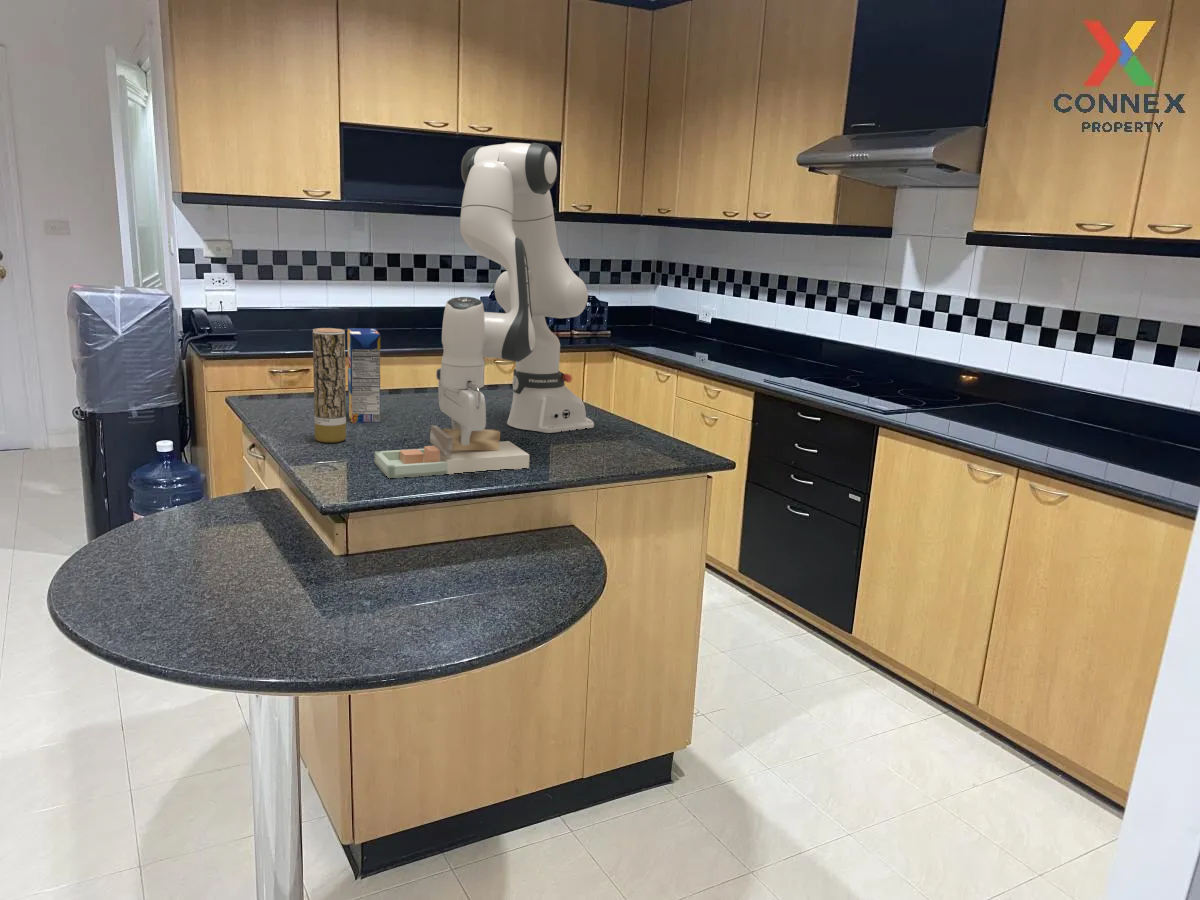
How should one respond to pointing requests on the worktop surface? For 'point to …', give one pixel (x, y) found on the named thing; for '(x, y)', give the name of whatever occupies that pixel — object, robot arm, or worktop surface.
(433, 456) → the tile
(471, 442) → the scraper
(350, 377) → the beverage box
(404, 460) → the tile
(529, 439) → the worktop surface
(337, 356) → the paper tube
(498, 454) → the board
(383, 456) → the tray
